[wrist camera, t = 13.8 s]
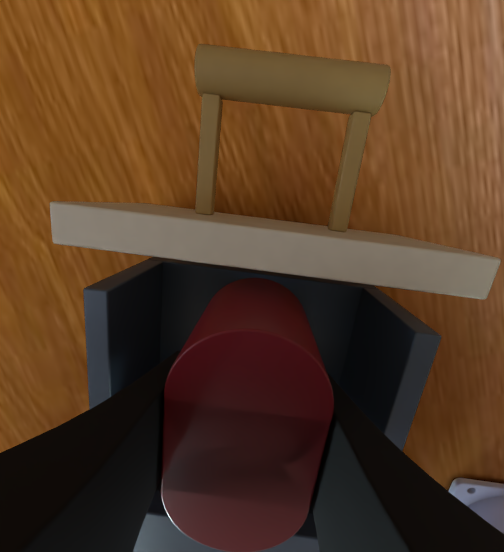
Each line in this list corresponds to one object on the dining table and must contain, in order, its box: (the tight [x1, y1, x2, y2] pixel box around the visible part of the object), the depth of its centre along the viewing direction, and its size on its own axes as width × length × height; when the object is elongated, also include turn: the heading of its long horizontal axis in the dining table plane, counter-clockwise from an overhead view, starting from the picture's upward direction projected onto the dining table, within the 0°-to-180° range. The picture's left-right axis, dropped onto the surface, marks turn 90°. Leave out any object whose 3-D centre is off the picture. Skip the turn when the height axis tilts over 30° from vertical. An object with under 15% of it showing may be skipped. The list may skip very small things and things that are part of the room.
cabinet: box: [133, 490, 319, 552], centre depth 15 cm, size 16×14×8 cm
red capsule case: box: [161, 278, 334, 552], centre depth 9 cm, size 4×7×4 cm, turn 173°
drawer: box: [50, 44, 501, 513], centre depth 11 cm, size 20×12×6 cm, turn 173°
